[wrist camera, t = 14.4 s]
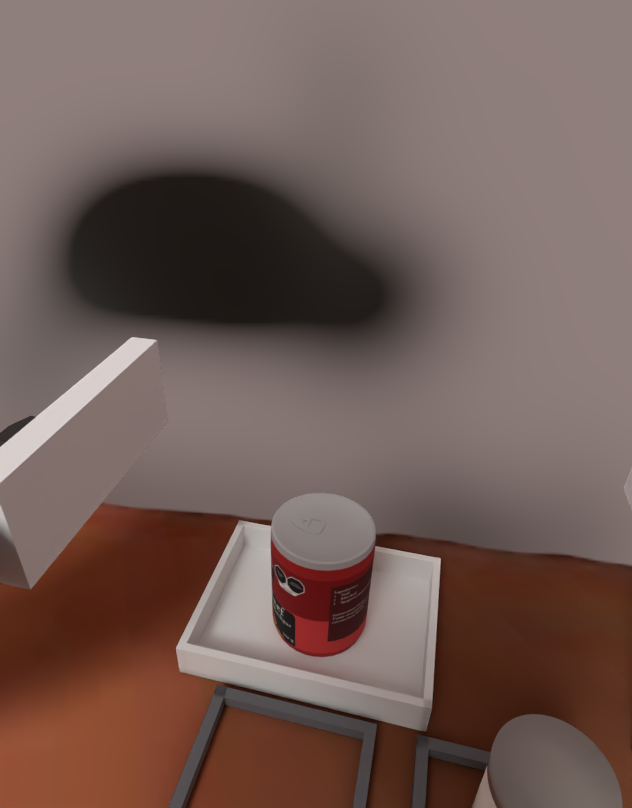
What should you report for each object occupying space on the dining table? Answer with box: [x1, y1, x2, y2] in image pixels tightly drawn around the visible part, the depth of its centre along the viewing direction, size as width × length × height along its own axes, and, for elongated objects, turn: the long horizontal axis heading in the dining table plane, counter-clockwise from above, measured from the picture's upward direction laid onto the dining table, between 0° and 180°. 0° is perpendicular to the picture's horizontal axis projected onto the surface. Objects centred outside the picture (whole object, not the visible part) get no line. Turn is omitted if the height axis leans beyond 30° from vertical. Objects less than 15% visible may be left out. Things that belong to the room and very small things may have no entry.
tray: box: [176, 520, 441, 732], centre depth 48 cm, size 19×14×3 cm
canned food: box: [271, 493, 376, 657], centre depth 45 cm, size 8×8×11 cm
